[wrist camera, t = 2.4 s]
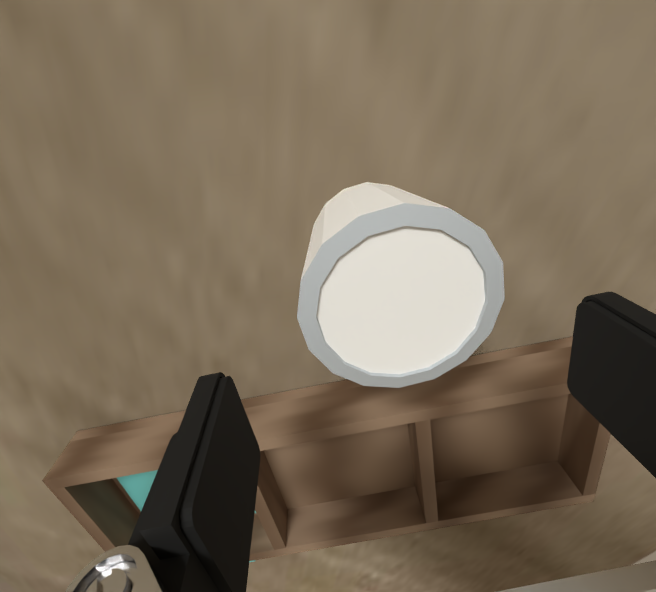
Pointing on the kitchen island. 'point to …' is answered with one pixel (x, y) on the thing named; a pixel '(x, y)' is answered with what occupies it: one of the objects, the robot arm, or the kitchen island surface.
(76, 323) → the kitchen island surface
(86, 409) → the kitchen island surface
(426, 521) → the rack
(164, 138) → the kitchen island surface
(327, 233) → the white cup
